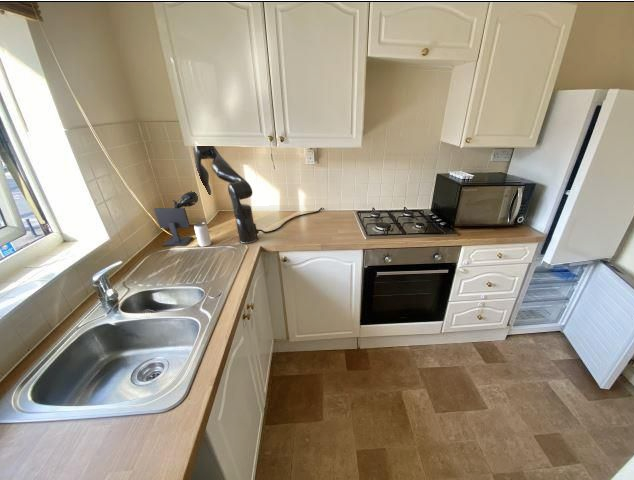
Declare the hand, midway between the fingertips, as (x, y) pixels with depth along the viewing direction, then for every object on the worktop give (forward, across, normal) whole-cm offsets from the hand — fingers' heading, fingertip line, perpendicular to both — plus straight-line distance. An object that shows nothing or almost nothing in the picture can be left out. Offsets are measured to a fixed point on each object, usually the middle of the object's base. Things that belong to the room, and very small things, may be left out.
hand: (176, 207), depth 157 cm
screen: (+7, 0, +10) cm, 12 cm away
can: (+11, +16, +18) cm, 27 cm away
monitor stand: (+7, 0, +18) cm, 19 cm away
